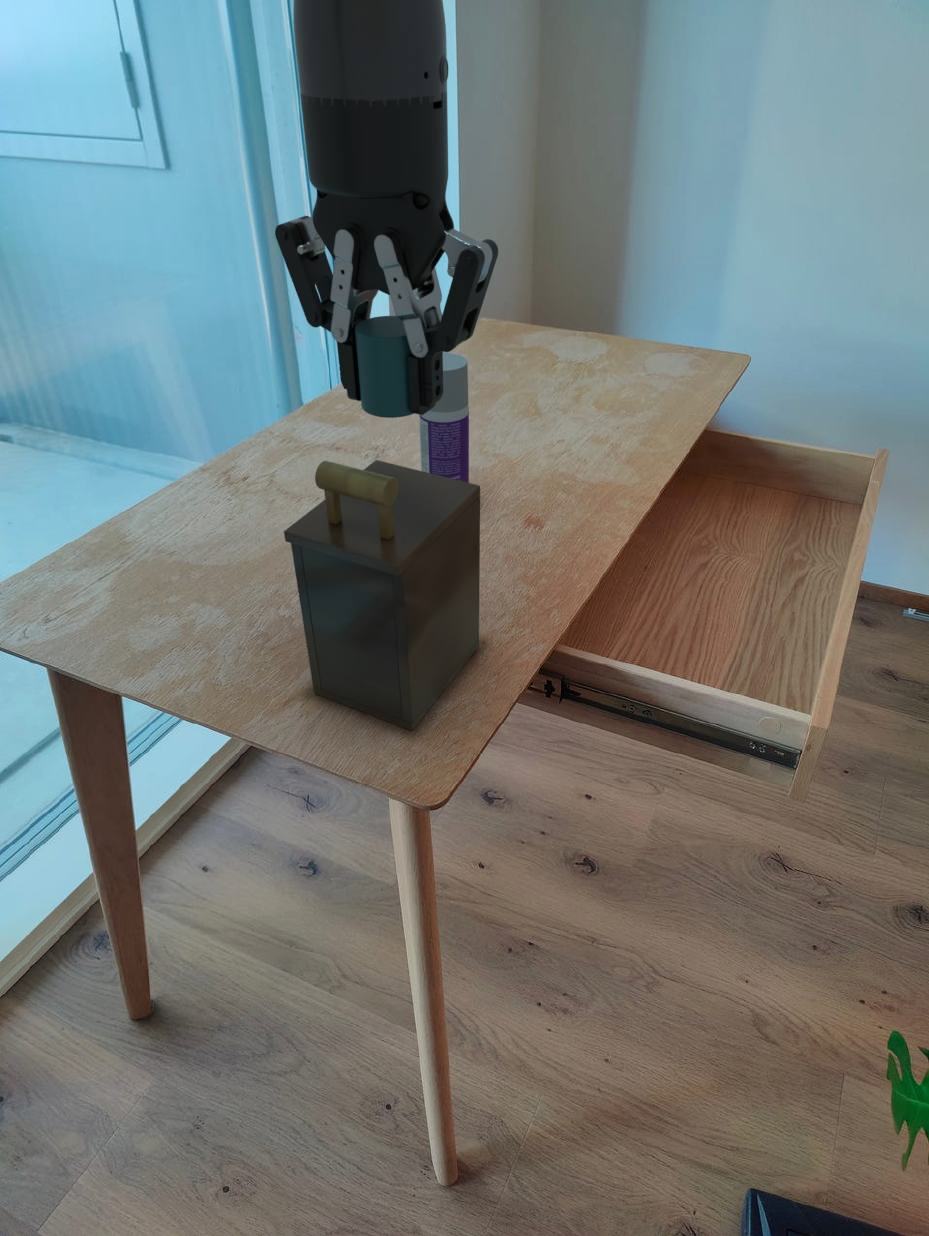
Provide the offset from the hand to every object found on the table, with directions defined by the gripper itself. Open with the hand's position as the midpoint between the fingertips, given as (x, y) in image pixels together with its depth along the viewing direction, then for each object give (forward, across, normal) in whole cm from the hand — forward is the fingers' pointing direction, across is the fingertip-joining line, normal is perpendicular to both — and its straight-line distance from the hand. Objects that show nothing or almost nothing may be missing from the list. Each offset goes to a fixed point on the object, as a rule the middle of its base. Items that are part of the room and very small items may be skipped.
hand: (392, 401), depth 53 cm
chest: (+21, 0, -2) cm, 21 cm away
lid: (+8, 0, -2) cm, 8 cm away
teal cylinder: (0, 0, 0) cm, 0 cm away
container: (+22, -9, +22) cm, 32 cm away
